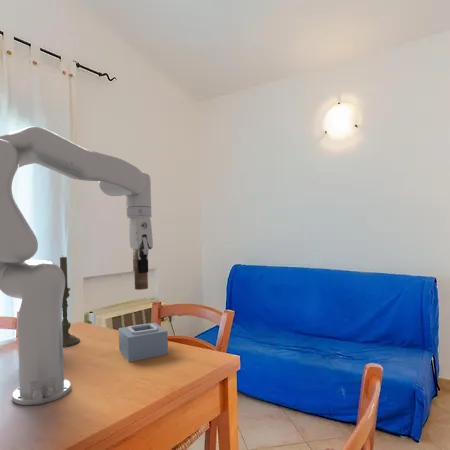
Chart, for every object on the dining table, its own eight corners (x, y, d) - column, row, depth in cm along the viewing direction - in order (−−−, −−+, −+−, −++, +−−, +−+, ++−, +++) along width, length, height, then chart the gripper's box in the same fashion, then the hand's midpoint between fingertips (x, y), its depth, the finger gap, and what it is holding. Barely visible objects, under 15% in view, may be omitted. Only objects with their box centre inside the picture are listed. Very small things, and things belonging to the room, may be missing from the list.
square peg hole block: (168, 354, 116) (167, 329, 116) (128, 361, 111) (127, 335, 111) (155, 343, 127) (155, 320, 127) (119, 350, 121) (118, 326, 121)
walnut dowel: (149, 288, 118) (148, 243, 118) (136, 290, 116) (135, 244, 116) (145, 287, 121) (144, 243, 121) (133, 288, 119) (132, 243, 119)
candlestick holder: (52, 340, 133) (50, 254, 133) (80, 337, 136) (78, 253, 136) (49, 348, 125) (46, 256, 125) (79, 345, 127) (76, 255, 127)
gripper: (159, 211, 113) (161, 273, 113) (143, 213, 128) (144, 268, 128) (134, 212, 109) (136, 276, 109) (120, 214, 124) (122, 270, 124)
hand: (140, 271), depth 119 cm, fingers closed on walnut dowel, 4 cm apart
